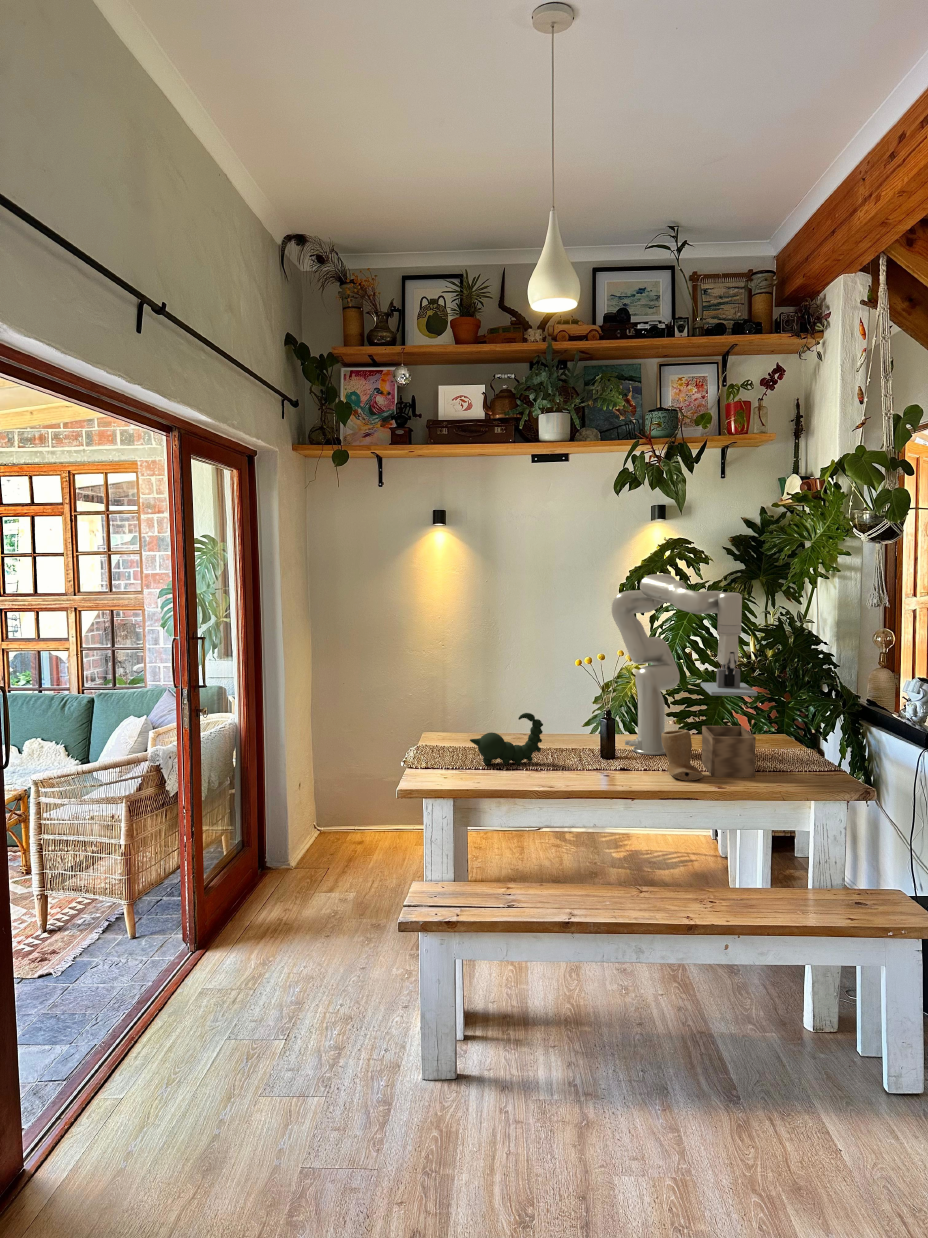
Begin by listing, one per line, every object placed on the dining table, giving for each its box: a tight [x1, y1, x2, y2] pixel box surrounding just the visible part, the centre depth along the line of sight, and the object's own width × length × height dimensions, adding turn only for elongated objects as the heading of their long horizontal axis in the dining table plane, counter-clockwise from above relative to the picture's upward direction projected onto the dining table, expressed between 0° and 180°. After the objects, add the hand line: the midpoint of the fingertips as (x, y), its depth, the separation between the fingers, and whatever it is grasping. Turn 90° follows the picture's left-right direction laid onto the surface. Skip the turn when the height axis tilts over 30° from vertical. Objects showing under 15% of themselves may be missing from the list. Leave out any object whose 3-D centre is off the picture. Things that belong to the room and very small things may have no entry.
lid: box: [700, 668, 758, 697], centre depth 282 cm, size 14×18×7 cm
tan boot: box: [661, 729, 704, 782], centre depth 277 cm, size 15×12×15 cm
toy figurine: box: [469, 712, 544, 766], centre depth 295 cm, size 9×19×25 cm
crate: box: [701, 725, 757, 778], centre depth 283 cm, size 14×18×13 cm
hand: (728, 684), depth 282 cm, fingers closed on lid, 2 cm apart
